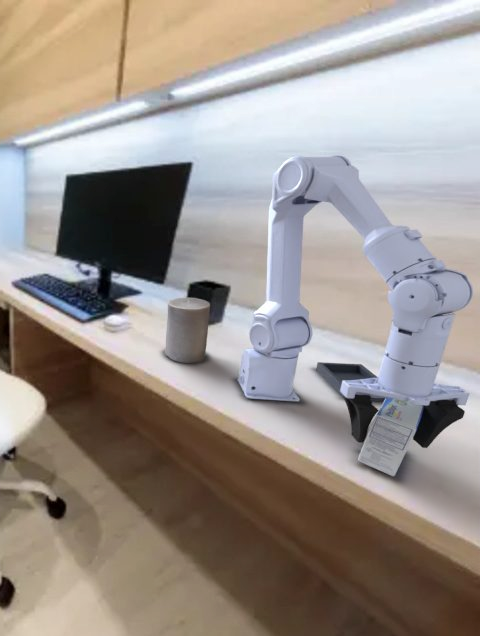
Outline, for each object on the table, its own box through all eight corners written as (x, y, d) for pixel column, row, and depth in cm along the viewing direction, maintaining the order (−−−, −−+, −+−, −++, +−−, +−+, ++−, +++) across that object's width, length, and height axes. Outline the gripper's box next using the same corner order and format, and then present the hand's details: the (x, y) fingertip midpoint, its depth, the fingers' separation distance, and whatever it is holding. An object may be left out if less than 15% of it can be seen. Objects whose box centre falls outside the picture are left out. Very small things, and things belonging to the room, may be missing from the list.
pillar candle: (208, 351, 97) (214, 294, 92) (201, 366, 89) (206, 305, 84) (170, 345, 102) (173, 290, 97) (159, 359, 94) (162, 300, 89)
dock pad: (344, 398, 74) (346, 390, 73) (315, 369, 85) (317, 362, 85) (395, 401, 72) (397, 393, 71) (359, 371, 84) (361, 364, 83)
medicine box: (393, 478, 54) (418, 429, 50) (355, 460, 57) (376, 413, 53) (403, 451, 59) (426, 405, 55) (367, 436, 62) (387, 392, 58)
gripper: (367, 367, 50) (346, 453, 55) (500, 374, 47) (467, 464, 52) (341, 347, 57) (324, 425, 61) (456, 351, 54) (430, 433, 58)
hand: (387, 441), depth 57 cm, fingers open, 7 cm apart
